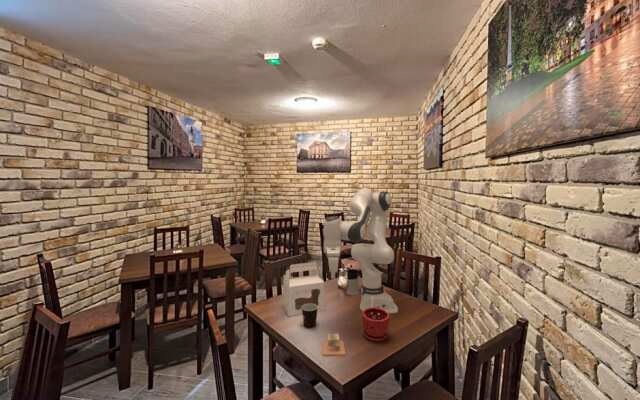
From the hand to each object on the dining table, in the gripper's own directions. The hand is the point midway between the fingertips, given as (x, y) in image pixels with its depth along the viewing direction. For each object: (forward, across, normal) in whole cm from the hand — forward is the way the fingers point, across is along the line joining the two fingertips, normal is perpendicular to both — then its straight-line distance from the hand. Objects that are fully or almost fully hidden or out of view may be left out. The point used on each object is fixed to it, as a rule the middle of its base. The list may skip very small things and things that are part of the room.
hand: (332, 275), depth 145 cm
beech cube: (+28, +17, -1) cm, 33 cm away
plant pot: (+29, +7, +21) cm, 37 cm away
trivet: (+29, +17, -1) cm, 34 cm away
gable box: (+29, -24, -16) cm, 41 cm away
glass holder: (+29, -48, +14) cm, 58 cm away
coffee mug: (+29, -3, -12) cm, 32 cm away
